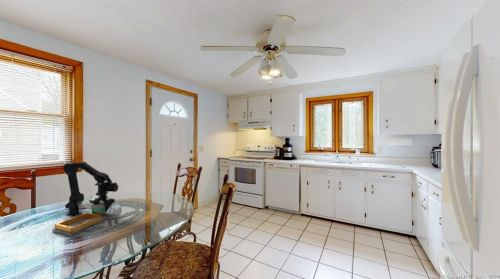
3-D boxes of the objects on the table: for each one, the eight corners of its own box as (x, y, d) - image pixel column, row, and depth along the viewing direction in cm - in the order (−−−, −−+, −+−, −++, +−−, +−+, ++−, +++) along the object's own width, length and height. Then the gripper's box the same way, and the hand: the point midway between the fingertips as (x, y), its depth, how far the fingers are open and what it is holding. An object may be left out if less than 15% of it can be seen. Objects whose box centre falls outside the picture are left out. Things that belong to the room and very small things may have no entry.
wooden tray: (52, 232, 125) (52, 224, 125) (87, 218, 145) (87, 211, 145) (71, 237, 121) (71, 229, 121) (104, 222, 141) (104, 215, 141)
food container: (97, 219, 145) (97, 206, 145) (90, 218, 146) (90, 205, 146) (111, 213, 157) (112, 200, 157) (105, 211, 158) (105, 199, 158)
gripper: (81, 192, 145) (81, 212, 146) (101, 195, 141) (100, 217, 141) (97, 188, 156) (96, 207, 157) (115, 191, 152) (114, 211, 152)
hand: (101, 211), depth 152 cm, fingers open, 9 cm apart
